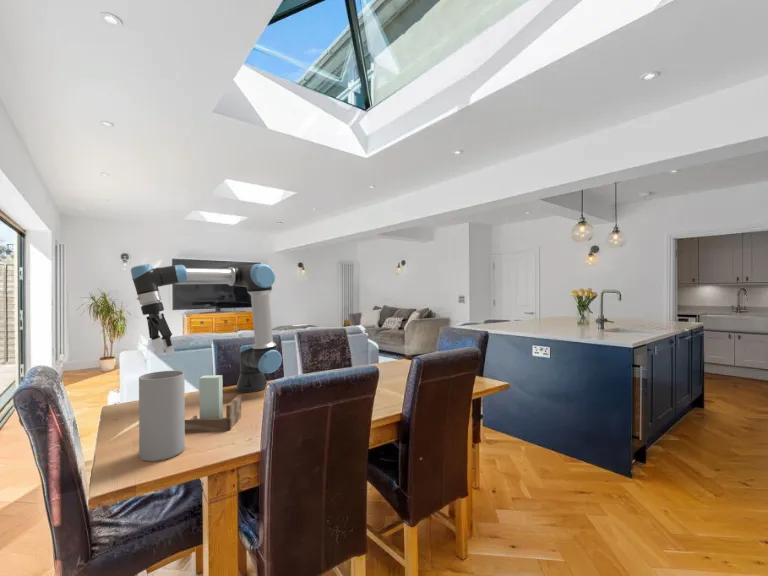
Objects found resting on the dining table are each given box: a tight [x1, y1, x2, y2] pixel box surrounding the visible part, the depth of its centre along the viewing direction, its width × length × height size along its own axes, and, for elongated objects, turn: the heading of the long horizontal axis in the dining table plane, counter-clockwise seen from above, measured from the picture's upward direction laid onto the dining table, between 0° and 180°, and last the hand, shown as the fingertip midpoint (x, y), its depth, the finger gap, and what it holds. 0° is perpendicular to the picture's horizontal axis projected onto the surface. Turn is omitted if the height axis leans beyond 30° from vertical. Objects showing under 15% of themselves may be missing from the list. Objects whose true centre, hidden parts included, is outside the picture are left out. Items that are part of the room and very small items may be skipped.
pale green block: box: [198, 374, 224, 419], centre depth 142 cm, size 4×7×18 cm, turn 95°
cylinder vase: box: [138, 370, 186, 462], centre depth 120 cm, size 12×12×25 cm
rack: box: [185, 394, 242, 433], centre depth 142 cm, size 14×18×10 cm
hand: (165, 354), depth 152 cm, fingers open, 13 cm apart
